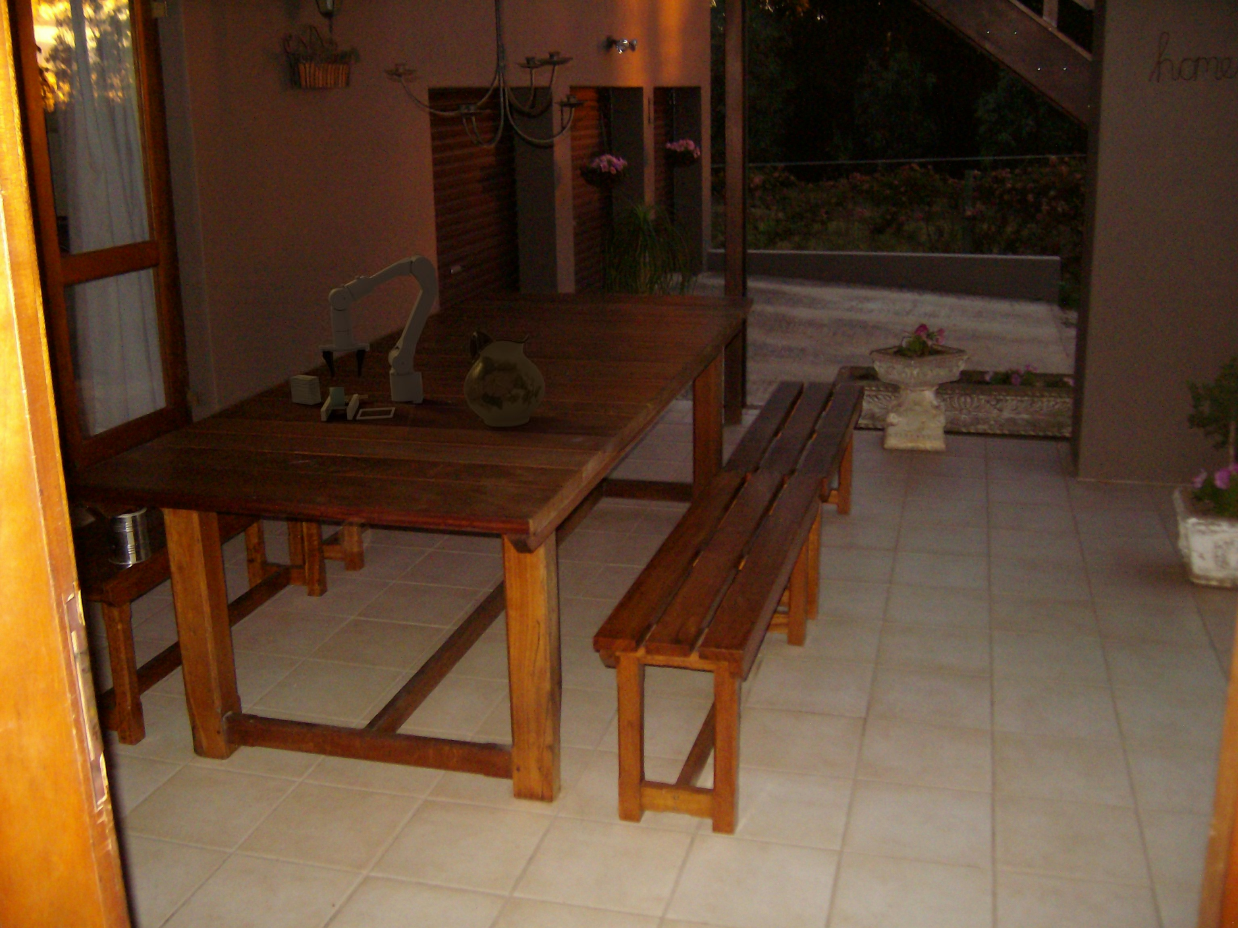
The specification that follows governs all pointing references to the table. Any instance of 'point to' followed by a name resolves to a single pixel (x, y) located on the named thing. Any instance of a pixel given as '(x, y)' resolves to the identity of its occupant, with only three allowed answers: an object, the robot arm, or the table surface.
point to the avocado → (337, 396)
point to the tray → (375, 416)
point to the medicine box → (305, 389)
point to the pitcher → (502, 381)
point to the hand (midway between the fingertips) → (346, 375)
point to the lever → (348, 401)
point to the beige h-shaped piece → (350, 409)
